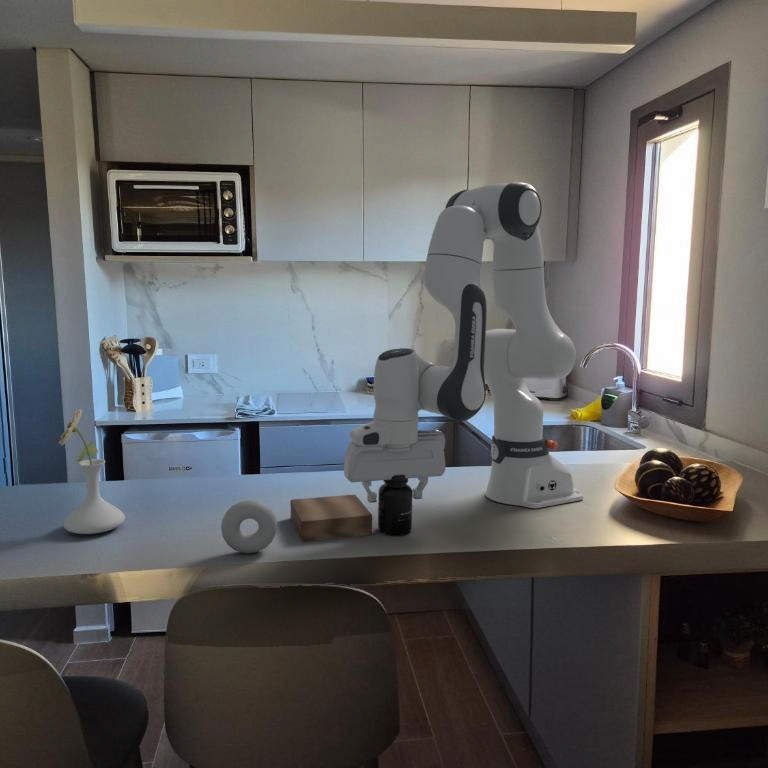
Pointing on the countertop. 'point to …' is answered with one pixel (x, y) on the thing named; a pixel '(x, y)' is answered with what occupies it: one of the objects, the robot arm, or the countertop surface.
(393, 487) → the supplement bottle
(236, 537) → the donut
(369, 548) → the countertop surface
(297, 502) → the walnut base
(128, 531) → the countertop surface
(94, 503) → the flower in vase
